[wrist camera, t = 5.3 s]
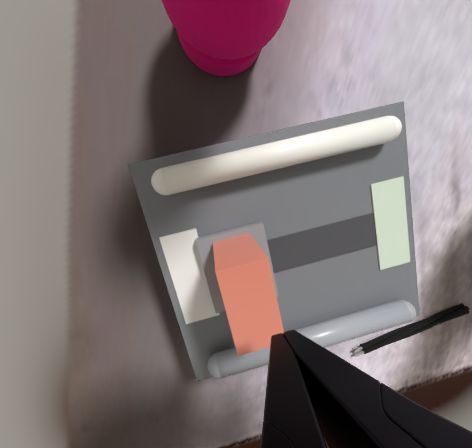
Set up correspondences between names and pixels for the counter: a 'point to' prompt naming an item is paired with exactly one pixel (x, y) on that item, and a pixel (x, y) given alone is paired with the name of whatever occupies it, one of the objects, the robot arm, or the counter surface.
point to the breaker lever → (243, 284)
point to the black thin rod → (411, 329)
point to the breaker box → (291, 229)
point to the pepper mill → (225, 31)
